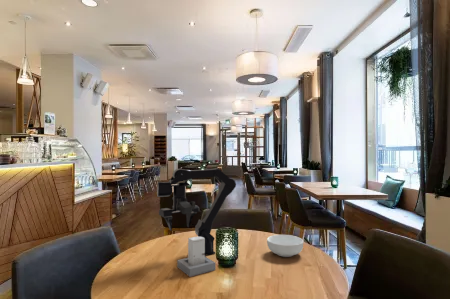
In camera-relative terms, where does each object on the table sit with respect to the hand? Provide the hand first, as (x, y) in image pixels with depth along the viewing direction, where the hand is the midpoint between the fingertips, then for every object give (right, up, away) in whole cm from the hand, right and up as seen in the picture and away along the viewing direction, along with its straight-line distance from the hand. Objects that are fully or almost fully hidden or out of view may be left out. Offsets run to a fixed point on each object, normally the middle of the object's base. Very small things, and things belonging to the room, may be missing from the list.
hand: (179, 228), depth 135 cm
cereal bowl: (+50, -13, +1) cm, 52 cm away
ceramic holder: (+9, -13, -15) cm, 22 cm away
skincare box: (+9, -12, -14) cm, 21 cm away
